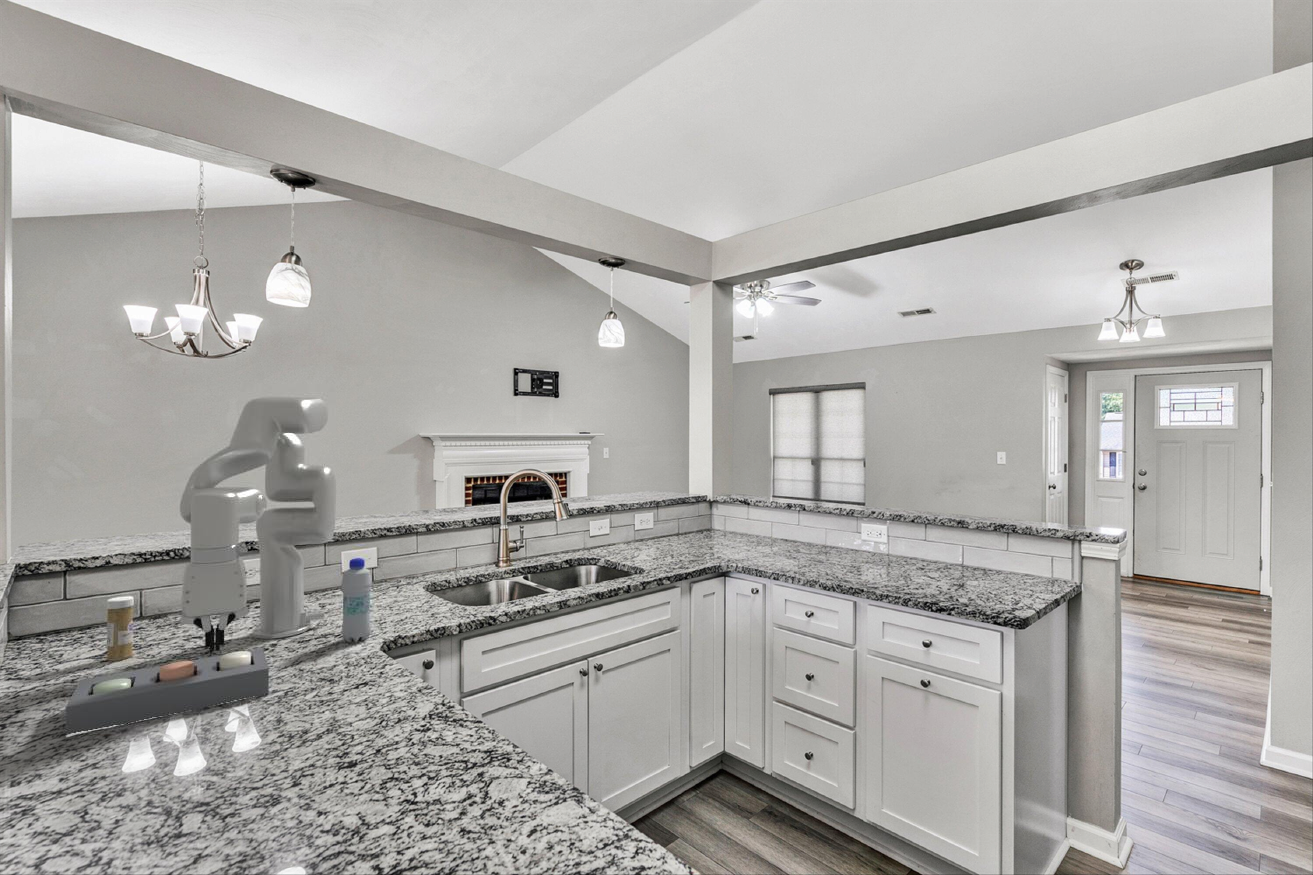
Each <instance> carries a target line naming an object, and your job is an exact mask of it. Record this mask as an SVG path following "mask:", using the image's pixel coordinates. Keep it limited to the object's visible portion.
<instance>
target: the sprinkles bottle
mask: <svg viewBox="0 0 1313 875" xmlns="http://www.w3.org/2000/svg"><path fill="white" fill-rule="evenodd" d="M134 604H135V600H134V597H133V596H130V595H127V596H125V595H124V596H117V597H112V598H109V599H107V601H106V605H105V606H106V611H107V623H106V647H107V650H106V651H107V654H106V655H107V656H106V660H107V661H109V662H115V661H116V662H117V661H123V660H126V659H129V658H131V657H132V656H134V652H133V649H134V648H133V641H134V621H133V620H134V619H133V617H134V616H133V614H134V613H133V612H134V611H133V610H134V608H133V607H134Z"/></svg>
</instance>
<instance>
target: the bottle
mask: <svg viewBox="0 0 1313 875" xmlns="http://www.w3.org/2000/svg"><path fill="white" fill-rule="evenodd" d="M348 564H349V565H348V566H349V569H347V570H346V571H344V572H343V573H342V580H341V592H342V625H341V635H342V636H341V637H342V640H344V641H345V642H347V643H351V642H352V639H353V641H354V643H357V642H359V639H360V640H361V641H365V640H366V639H368V638H369V636H370V634H371V625H372V624H371V613H370V612H371V611H370V610H371V609H370V608H371V605H370V604H371V599H370V598H371V590H372V582H373V581H372V577H371V571H370V570H369V569H368V568H365V565H366V564H365V559H363V558H361V557H356V558H352V559H350V560H349V563H348ZM367 637H368V638H367Z"/></svg>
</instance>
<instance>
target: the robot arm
mask: <svg viewBox="0 0 1313 875" xmlns="http://www.w3.org/2000/svg"><path fill="white" fill-rule="evenodd" d="M328 420H329V409H328V407H327V404H326V403H325V401H323V399H322V398H319V397H291V396H290V397H289V396H267V397H266V396H265V397H258V398H254V399H251V400H250V401H247V402H246V404H244V406H243V408H242V411H241V414H240V416H239V418H238V421H237V424H236V427H235V428H234V432H233V435H232V437H231V439H230V442H229V444H228V446H226V447H225V448H223V449H220V450H219V451H218V452H216V453H214V454H213V455H211V456H210V457H208V458H207V459H206V460H204V461H203V462H201V464H199V465H198V466H197V467H196V468H194V470H193V472H192V473H191V474H190V475H189V478H188V481H187V482H186V485H185V487H184V489H183V490H184V491H183V493H182V495H181V500H180V504H179V513H180V516H181V518H182V519H183V520H184V522H186V523H188V524H189V525H190V563H186V565H185V569H184V572H183V578H182V587H181V588H182V590H181V616H180V617H179V618H180V619H179V624H180V625H192V626H193V625H194V626H196V627H198V628H199V629H201V630H202V631H203V633H204V638H205V640H204V647H205V649H206V648H209V653H214V652H220V650H221V646H224V645H225V629H226V628H227V627H228V626H229V625H230V624H231V623H232V622H233V621H234V620H235V619H238V618H241V617H244V616H247V615H249V608H248V605H247V600H248V591H247V590H248V589H247V587H248V586H247V573H246V566H245V561H244V559H243V558H242V557H241V558H240V556H241V555H244V554H248V553H249V552H248V551H249V550H248V546H241V545H240V544H239V542H240V538H239V537H240V536H239V535H240V530H239V529H240V528H239V527H240V525H244V524H251V523H254V522H256V523H255V531H256V538H257V542H258V548H259V564H260V567H259V568H260V569H259V576H260V577H259V626H257V627H255V628H254V629H253V630H252V634H251V636H252V637H254V638H255V639H260V640H261V639H263V640H265V639H266V640H269V639H272V640H273V639H279V638H287V637H292V636H297V635H300V634H302V633H304V632H306V631H308V630H309V629H310V628H311V621H315V620H316V621H318V620H324V619H325V612H324V611H322V610H321V611H317V610H315V611H309V612H308V611H306V609H305V608H304V606H305V605H304V602H305V600H304V598H305V597H304V594H305V593H304V591H305V590H304V589H305V586H304V585H305V582H304V581H305V580H304V578H305V576H304V574H305V570H304V569H305V562H304V558H303V556H302V554H301V553H300V552H299V550H298V549H297V548H296V547H295V546H297V545H298V546H299V545H319V544H326V543H328V542H329V541H331V540H332V539H333V537H334V535H335V529H336V499H337V498H336V497H337V496H336V493H337V484H336V483H337V482H336V481H337V480H336V476H335V473H334V471H333V470H332V468H330V467H329V466H326V465H319V464H318V465H315V464H312V465H306V464H305V445H304V443H303V441H302V440H301V439H300V437H299V436H297V434H298V435H299V434H301V435H302V434H305V435H306V434H312V433H315V432H319V431H322V430H323V429H324V428H325V426H326V425H327V423H328ZM263 466H265V474H264V491H265V492H262V491H261V490H260V489H257V488H255V487H249V486H247V487H243V486H242V487H239V486H238V487H235V486H234V487H229V486H227V487H225V486H224V487H216V486H217V485H218V484H221V482H223V481H225V480H227V479H229V478H232V477H235V476H237V475H241V474H244V473H247V472H249V471H253V470H255V469H259V468H261V467H263ZM264 493H265V494H264ZM267 499H268V500H269V501H271V502H275V503H313V505H314V506H313V507H311V506H310V507H296V506H294V507H275V508H274V507H273V508H270V509H267ZM266 509H267V510H266ZM216 615H217V616H218V615H219V621H218V623H217V625H216V627H215V628H214V625H213V624H212V621H211V617H212V616H216Z"/></svg>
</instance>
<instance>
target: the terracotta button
mask: <svg viewBox="0 0 1313 875" xmlns="http://www.w3.org/2000/svg"><path fill="white" fill-rule="evenodd" d="M162 666H163V667H161V668H160V682H163V681H169V680H174V679H179V678H185V677H190V676H194V662H192V660H183V661H177V662H172V663H168V664H165V666H164V665H162Z"/></svg>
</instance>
